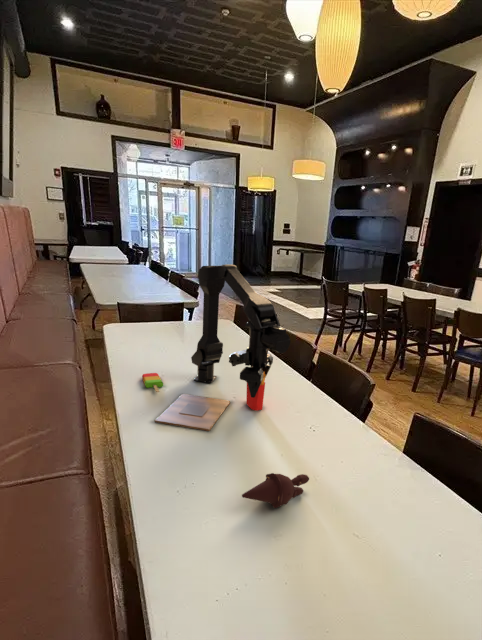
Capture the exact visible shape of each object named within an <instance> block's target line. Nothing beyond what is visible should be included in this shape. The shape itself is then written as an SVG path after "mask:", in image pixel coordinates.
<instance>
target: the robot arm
mask: <svg viewBox="0 0 482 640" xmlns="http://www.w3.org/2000/svg"><path fill="white" fill-rule="evenodd" d="M197 277H198V284H199V287H200V289H201V291H202V292H203V304H202V305H203V307H202V335H201V337H200V339H199V340H198V342H197V346H196V351H195V352H194V353H193V354H192V355H191V357H190V359H191V363H192V364H193V365H195V366H197V372H196V373H197V376H196V377H194V379H193V381H194V382H200V383H205V384H206V383H207V384H212V383H213V382H214V381H215V380H216V379H217V378H218V375H215V373H214V372H215V364H219V363H220V361H221V358H222V355H223V354H224V350H223V348H224V343H223V342H222V341H221V340H220V338H219V337H218V329H219V327H218V326H219V306H220V294H221V292H222V290H223V289H224V287H225V284H227V285H228V286H229V287H230V289H231V290H232V292H233V293H234V294H235V295H236V297H237V298H238V300H240V301H241V303H242V305H243V312H244V314H245V315H246V318H247V319H248V321H247V322H246V323H245V324H244V326H245V327H246V328H249V336H248V337H249V340H248V347H247V348H246V349H243V350H238V351H234V352H232V353H230V355H229V356H228V363H229V364H231V366H232V367H236V366H238V365H242V364H244V366H245V367H244V368H242V370H241V371H240V372H239V380H240V381H243V382H246V385H247V384H248V387H249V391H250V395H251V397H252V398H255V396H256V394H257V391H258V389H259V387H260V385H261V383H262V381H263V373H264V372H265V373H264V374H265V375H266V376H265V379H266V378H267V375H268V373H269V371H270V369H271V367H272V365H273V363H274V357H273V355H272V354H270V353H269V351H270V350H271V351H273V352H275V353H278V354H284V353H286V352H287V351H288V349H289V348H290V346H291V337H290V336H289V334H288V333H287V328H284V327H281V323H280V320H279V318H278V316H277V313H276V309H275V305H274V304H273V303H272V302H271V301H270V300H269V299H268V298H266V297H265V296H262V295H261V294H259V293H258V292H256V291H255V290H254V288H253V287H252V286H251V284H250V283H249V282H248V281H247V280H246V279H245V277H244V276H243V275H242V274H241V273H240V271H239V269H238V267H237V265H235V264H229V263H228V264H221V265H202V266H201V267H200V268H199V269H198V273H197ZM262 370H263V371H262Z"/></svg>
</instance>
